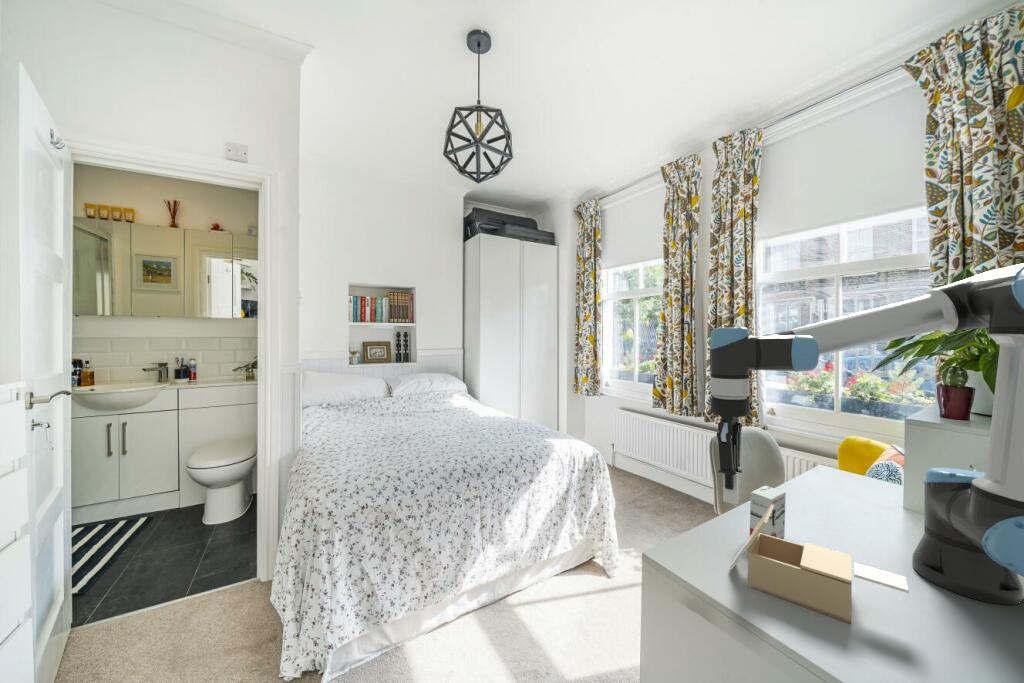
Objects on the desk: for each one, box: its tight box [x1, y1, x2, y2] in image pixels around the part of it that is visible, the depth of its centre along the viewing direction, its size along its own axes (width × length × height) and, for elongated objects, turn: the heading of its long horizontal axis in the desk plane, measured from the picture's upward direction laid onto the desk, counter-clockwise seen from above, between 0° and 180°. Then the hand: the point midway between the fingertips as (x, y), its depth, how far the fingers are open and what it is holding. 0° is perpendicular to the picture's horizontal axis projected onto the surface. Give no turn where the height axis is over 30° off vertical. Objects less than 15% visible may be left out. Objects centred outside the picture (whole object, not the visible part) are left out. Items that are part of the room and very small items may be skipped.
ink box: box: [749, 485, 787, 539], centre depth 99 cm, size 8×5×12 cm, turn 123°
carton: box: [747, 533, 853, 625], centre depth 79 cm, size 16×11×7 cm
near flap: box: [800, 542, 910, 594], centre depth 74 cm, size 15×11×1 cm
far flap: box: [729, 504, 774, 570], centre depth 84 cm, size 15×11×1 cm
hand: (730, 501), depth 87 cm, fingers closed
